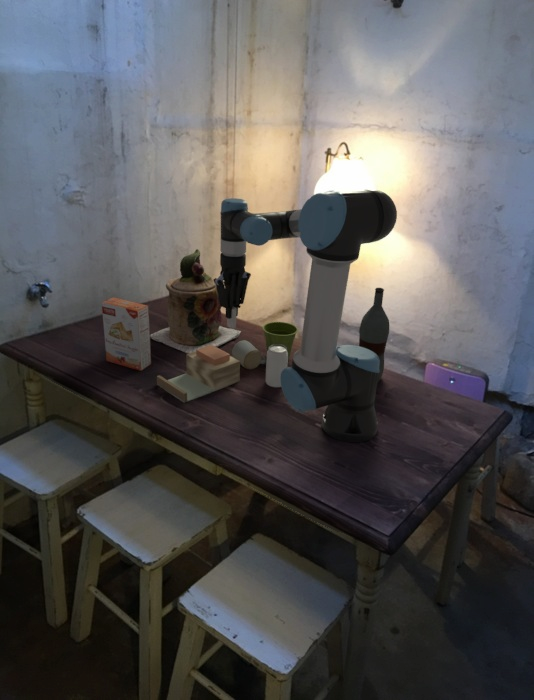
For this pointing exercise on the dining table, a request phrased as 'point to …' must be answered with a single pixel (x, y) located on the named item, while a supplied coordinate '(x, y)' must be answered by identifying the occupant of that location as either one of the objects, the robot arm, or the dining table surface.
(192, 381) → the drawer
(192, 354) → the beige rectangular slab
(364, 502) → the dining table surface
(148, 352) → the cracker box
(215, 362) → the orange rectangular slab
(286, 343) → the plant pot
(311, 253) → the robot arm
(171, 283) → the cookie jar
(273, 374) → the can
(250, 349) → the ceramic mug
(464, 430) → the dining table surface
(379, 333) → the bottle
